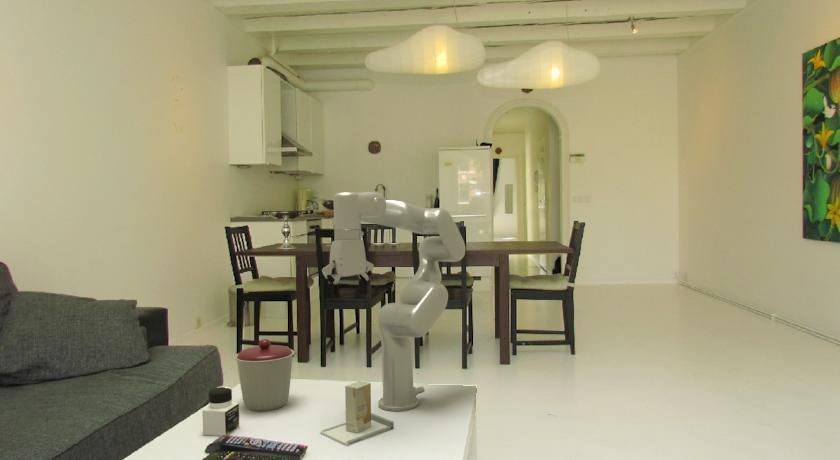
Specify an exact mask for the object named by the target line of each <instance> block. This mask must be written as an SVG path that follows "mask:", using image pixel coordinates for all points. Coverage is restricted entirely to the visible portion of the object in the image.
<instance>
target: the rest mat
mask: <svg viewBox="0 0 840 460" xmlns="http://www.w3.org/2000/svg"><path fill="white" fill-rule="evenodd" d="M394 426H395V425H394V421H393V420H391V419H387V418H385V417H383V416H380V415H377V414H374V413H373V412H371V427H369V428H367V429H365V430H363V431H361V432H358V433H355V432H351V431H348V430H346V422H344V423H340V424H338V425H335V426H331V427H329V428H326V429H323V430H320V431H319V433H320V435H321V436H324V437H326V438H329V439H331V440H333V441H335V442H337V443H338V444H339V443H340V444H341V445H343V446H346V447H347V446H351V445H353V444H357V443H359V442H360V441H364V440H367V439H369V438H373V437H375V436H377V435H380V434H383V433H386V432H388V431H391V430H394V429H395V427H394Z"/></svg>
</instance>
